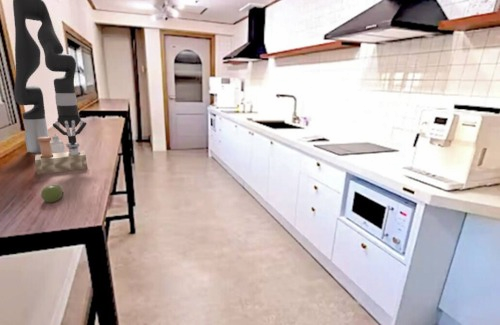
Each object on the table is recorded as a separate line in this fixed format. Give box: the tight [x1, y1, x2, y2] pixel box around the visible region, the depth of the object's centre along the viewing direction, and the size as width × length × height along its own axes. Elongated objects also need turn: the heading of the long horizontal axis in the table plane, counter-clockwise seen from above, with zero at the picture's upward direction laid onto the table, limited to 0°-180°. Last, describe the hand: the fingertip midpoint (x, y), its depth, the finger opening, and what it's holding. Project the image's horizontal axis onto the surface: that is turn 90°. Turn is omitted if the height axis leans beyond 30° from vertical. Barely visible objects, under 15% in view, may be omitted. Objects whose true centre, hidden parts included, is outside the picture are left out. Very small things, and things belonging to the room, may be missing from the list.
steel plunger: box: [65, 142, 80, 155], centre depth 127 cm, size 5×5×10 cm
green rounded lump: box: [40, 184, 64, 203], centre depth 95 cm, size 6×5×10 cm
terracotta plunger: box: [37, 136, 52, 158], centre depth 121 cm, size 5×5×10 cm
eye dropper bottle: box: [50, 132, 66, 153], centre depth 140 cm, size 4×6×12 cm
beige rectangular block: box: [34, 150, 88, 175], centre depth 125 cm, size 18×9×6 cm, turn 124°
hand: (72, 144), depth 126 cm, fingers closed
